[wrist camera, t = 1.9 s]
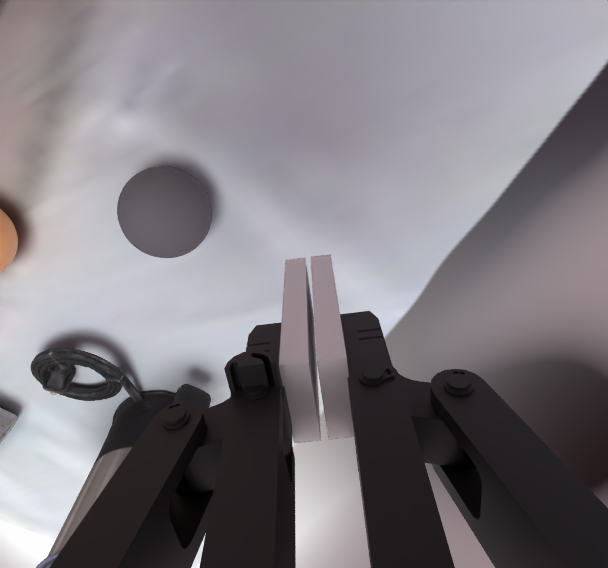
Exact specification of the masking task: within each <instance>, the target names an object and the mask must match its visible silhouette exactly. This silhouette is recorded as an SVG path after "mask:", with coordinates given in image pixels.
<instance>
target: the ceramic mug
mask: <svg viewBox="0 0 608 568" xmlns="http://www.w3.org/2000/svg"><path fill="white" fill-rule="evenodd" d="M17 419H18V417H17V416H16V415H15V414H13V413H11V412H9V411H7V410H4V409H2V408H0V443H1V442H2V440H3V439H4V438H5V436H6V435H7V433H8V432H9V431H10V430H11V428H12V427H13V425H14V424H15V423H16V421H17Z"/></svg>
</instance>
